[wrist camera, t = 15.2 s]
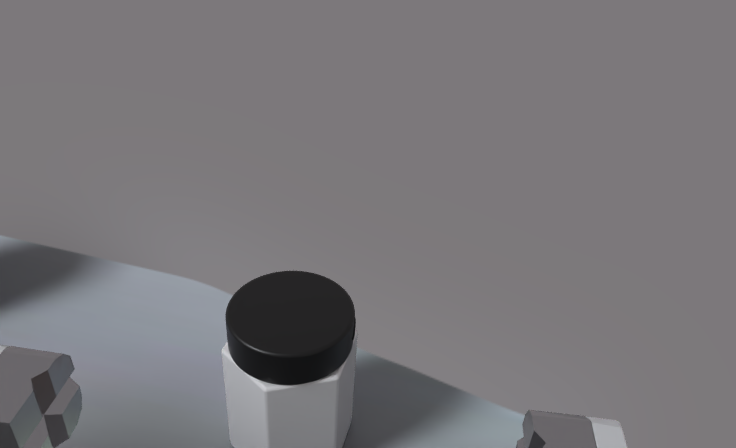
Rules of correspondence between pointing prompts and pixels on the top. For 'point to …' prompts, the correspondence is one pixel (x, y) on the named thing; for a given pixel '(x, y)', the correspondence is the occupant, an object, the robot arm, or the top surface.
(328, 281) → the jar
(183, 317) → the top surface
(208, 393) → the top surface
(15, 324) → the top surface
